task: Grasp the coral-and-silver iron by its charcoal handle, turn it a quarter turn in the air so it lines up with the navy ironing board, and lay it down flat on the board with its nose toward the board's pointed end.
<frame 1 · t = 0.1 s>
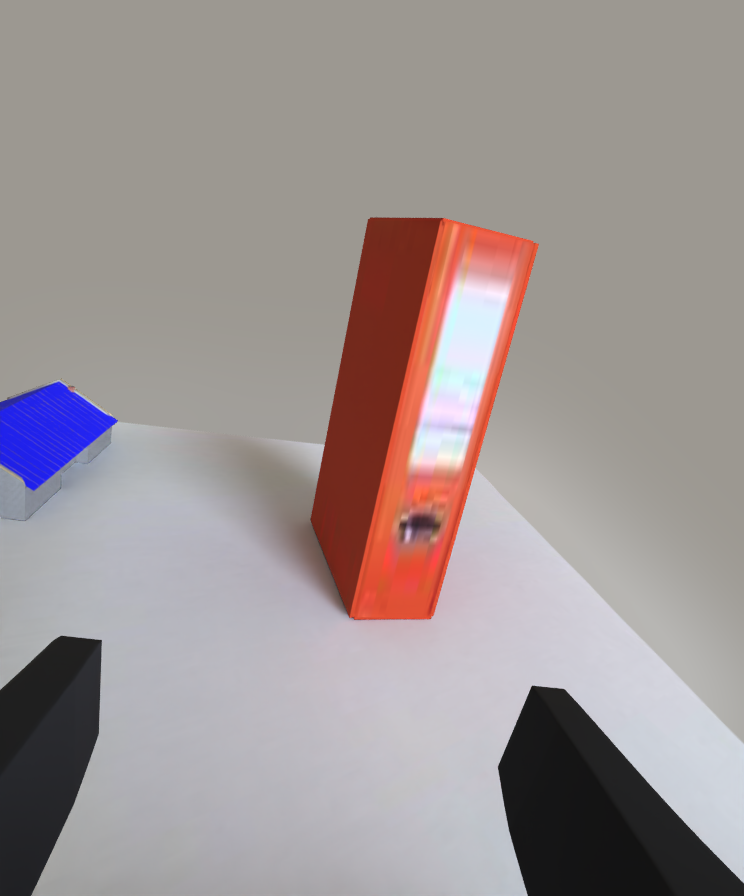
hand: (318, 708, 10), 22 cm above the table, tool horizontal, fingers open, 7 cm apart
blue roofed model house: (14, 468, 62), on the table
file binder: (365, 566, 57), on the table
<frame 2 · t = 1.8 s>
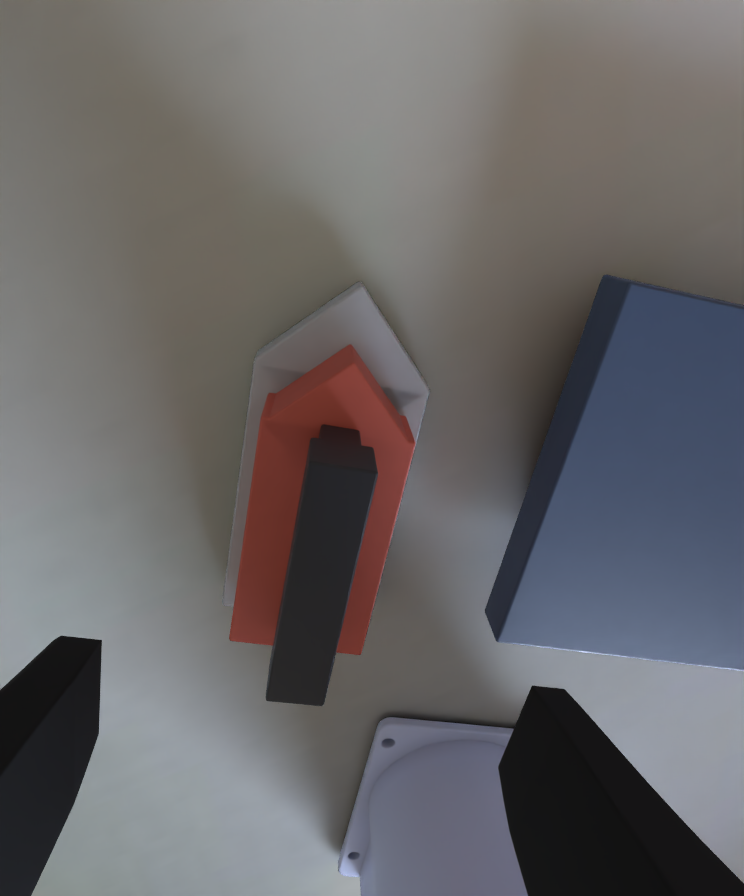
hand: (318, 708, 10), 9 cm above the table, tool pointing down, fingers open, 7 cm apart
iron: (323, 469, 18), on the table
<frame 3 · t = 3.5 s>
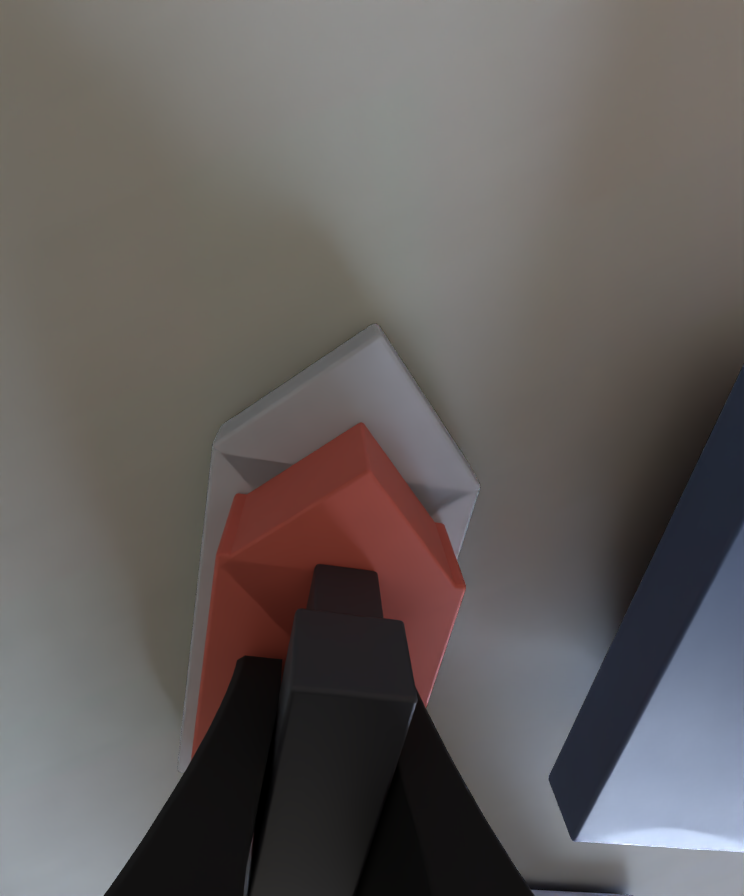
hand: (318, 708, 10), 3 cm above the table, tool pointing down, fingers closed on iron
iron: (320, 586, 13), on the table, touching gripper
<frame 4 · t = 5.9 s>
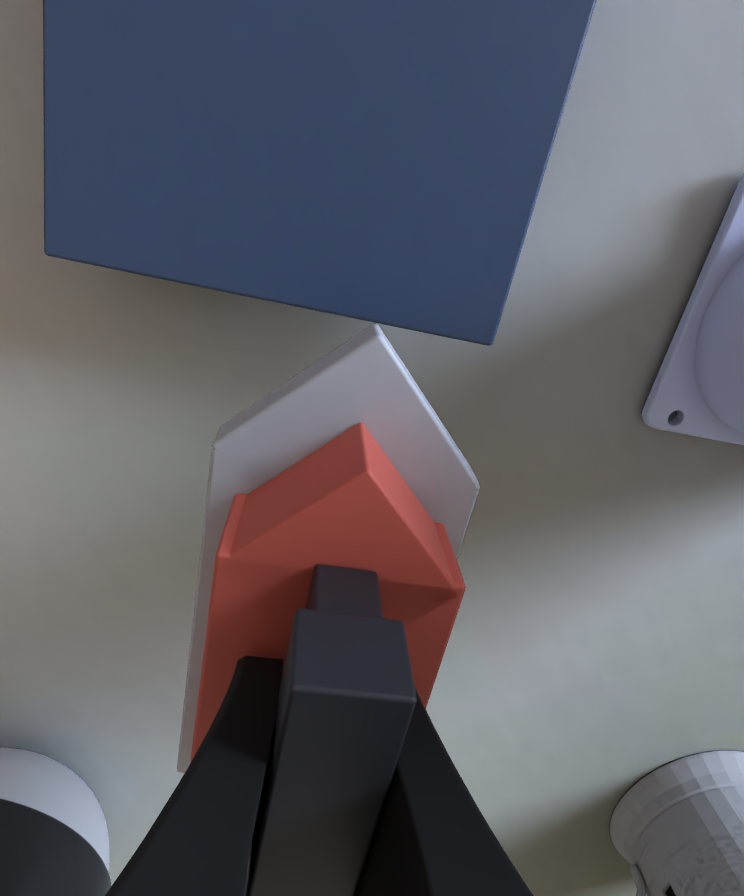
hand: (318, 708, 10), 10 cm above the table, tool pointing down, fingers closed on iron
iron: (319, 586, 13), point 7 cm above the table, touching gripper
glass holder: (640, 819, 28), on the table
black egg-shaped figure: (18, 789, 24), on the table
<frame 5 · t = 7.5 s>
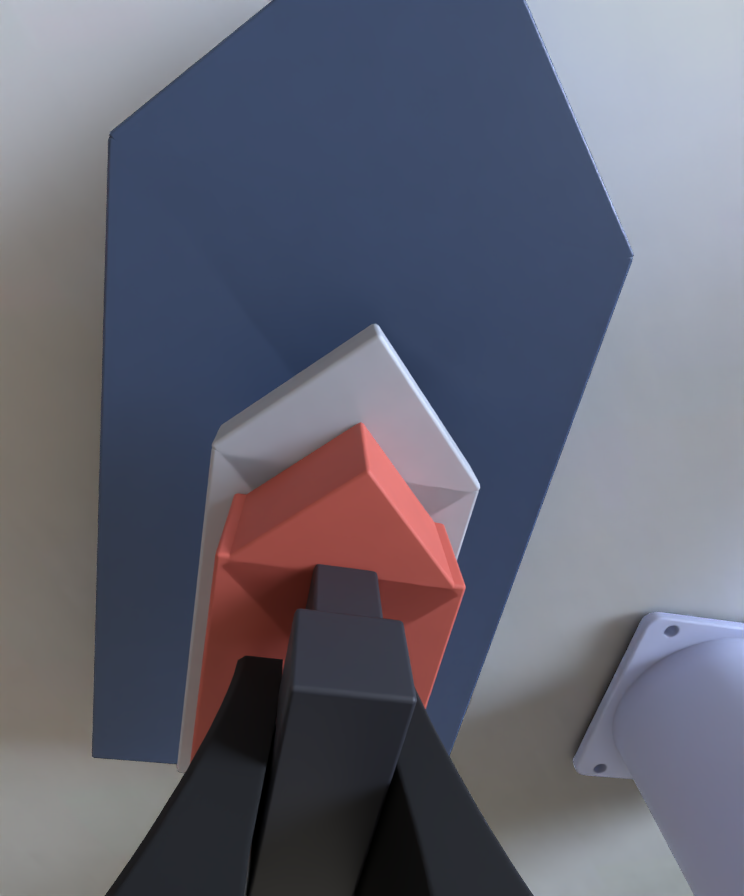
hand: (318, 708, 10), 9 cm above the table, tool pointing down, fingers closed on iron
ironing board: (328, 449, 17), on the table
iron: (319, 586, 13), point 5 cm above the table, touching gripper
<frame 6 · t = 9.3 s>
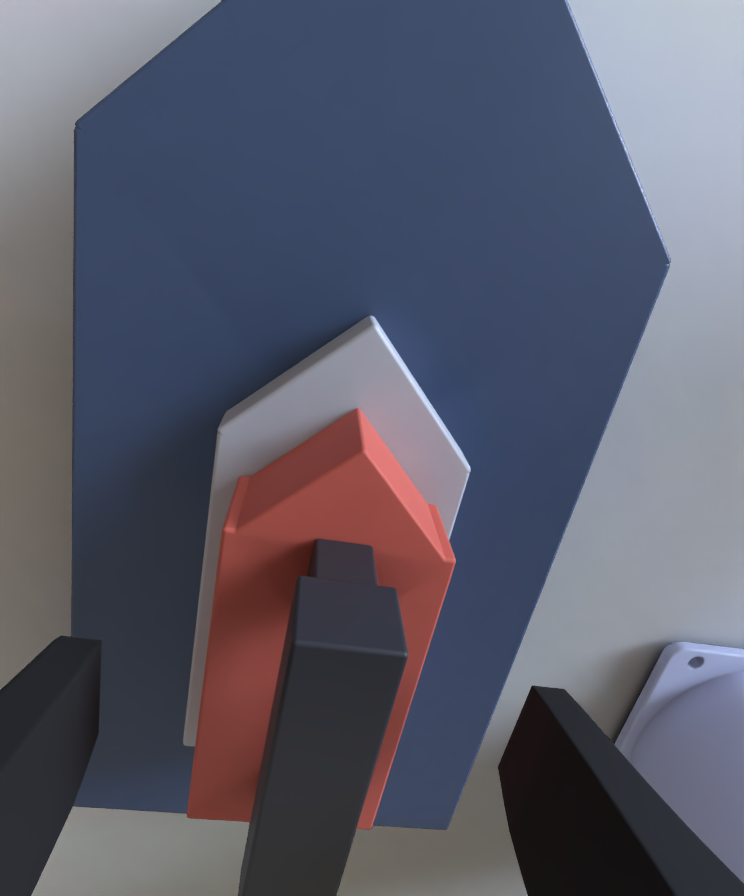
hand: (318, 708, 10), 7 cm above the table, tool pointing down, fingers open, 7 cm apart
ironing board: (327, 471, 16), on the table
iron: (319, 566, 13), point 3 cm above the table, touching ironing board
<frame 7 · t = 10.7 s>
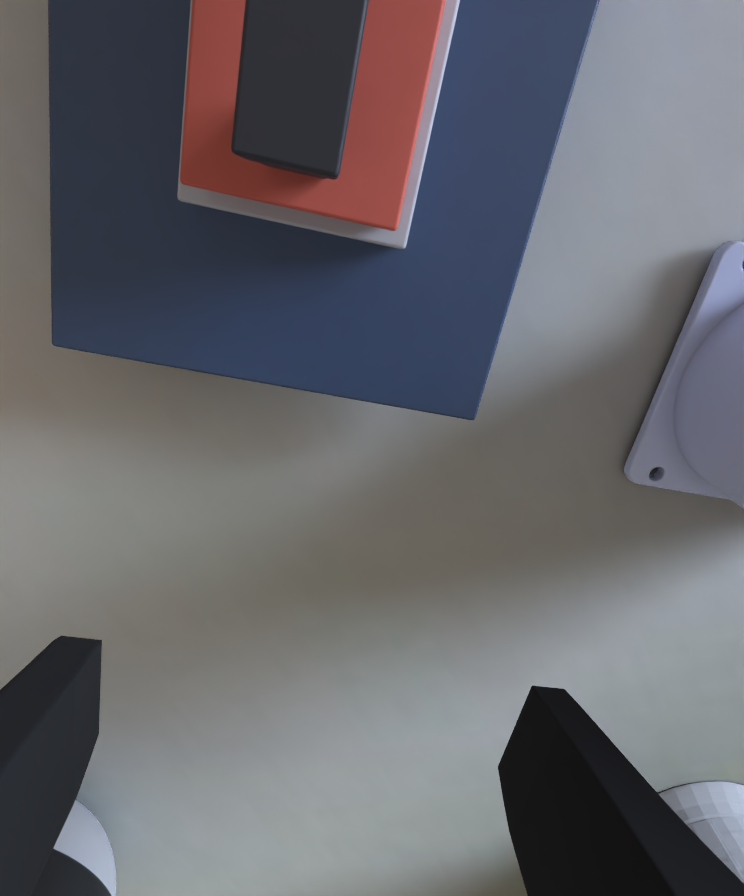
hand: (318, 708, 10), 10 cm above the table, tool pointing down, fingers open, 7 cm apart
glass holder: (631, 846, 29), on the table
black egg-shaped figure: (28, 819, 25), on the table
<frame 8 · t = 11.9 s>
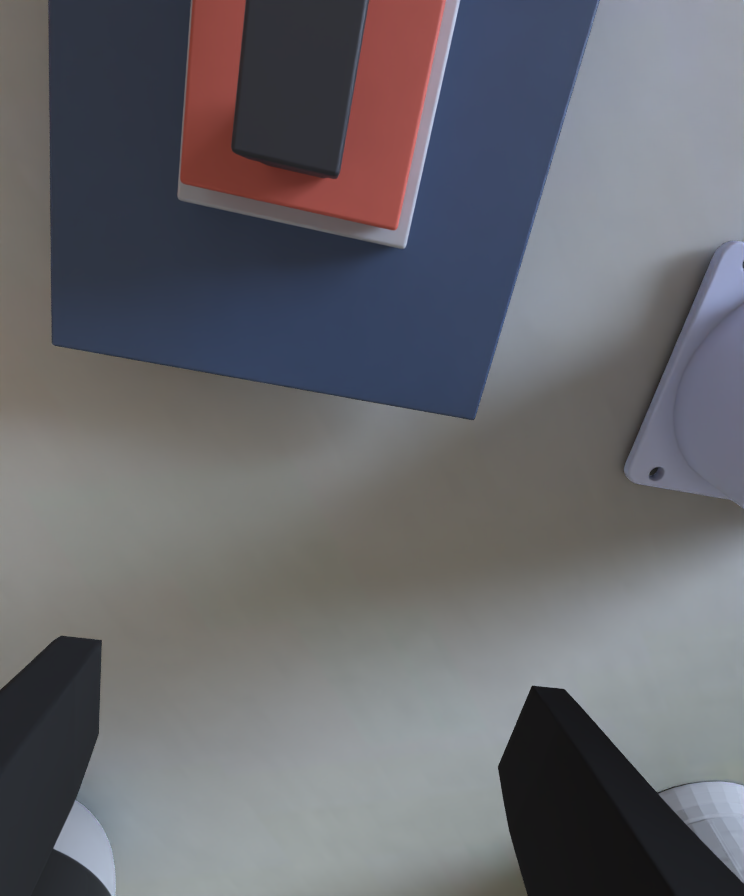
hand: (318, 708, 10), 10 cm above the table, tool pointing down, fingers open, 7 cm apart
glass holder: (631, 846, 29), on the table
black egg-shaped figure: (28, 818, 25), on the table
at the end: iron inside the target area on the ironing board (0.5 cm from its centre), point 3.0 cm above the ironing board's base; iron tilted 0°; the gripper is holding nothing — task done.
